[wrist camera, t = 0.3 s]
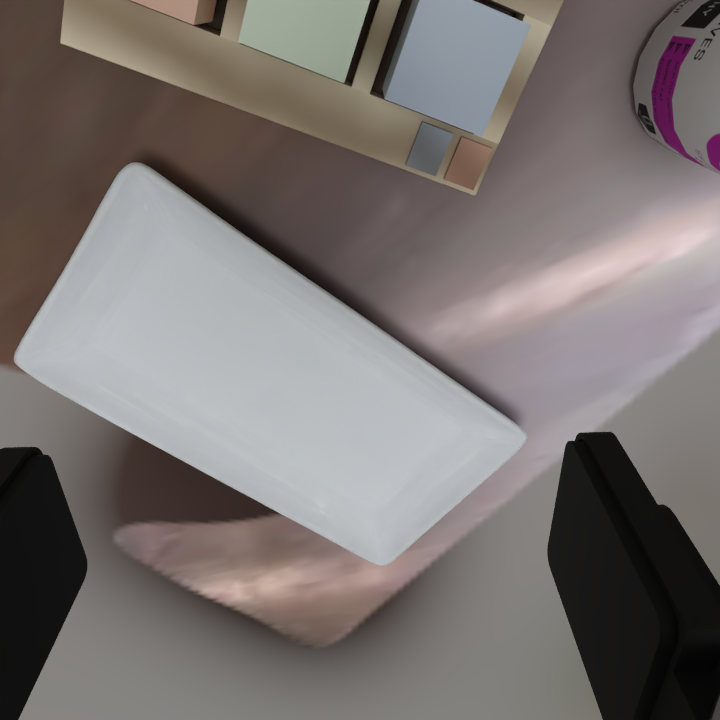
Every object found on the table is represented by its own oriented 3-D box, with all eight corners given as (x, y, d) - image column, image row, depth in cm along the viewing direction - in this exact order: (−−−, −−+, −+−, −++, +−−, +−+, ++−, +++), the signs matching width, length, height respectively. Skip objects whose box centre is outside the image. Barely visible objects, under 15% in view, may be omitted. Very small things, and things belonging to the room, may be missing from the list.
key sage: (278, -79, 28) (267, -89, 25) (379, -35, 29) (382, -39, 26) (251, 36, 31) (238, 42, 27) (345, 73, 32) (344, 83, 28)
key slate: (418, -18, 30) (426, -20, 26) (511, 21, 30) (531, 25, 27) (381, 87, 32) (384, 99, 29) (469, 121, 33) (481, 136, 29)
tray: (146, 140, 36) (126, 153, 33) (525, 412, 46) (537, 441, 43) (29, 340, 42) (4, 366, 39) (381, 538, 52) (383, 571, 49)
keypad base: (107, -251, 27) (87, -270, 25) (570, -40, 31) (584, -42, 29) (76, 40, 33) (57, 43, 31) (469, 186, 37) (475, 197, 35)
